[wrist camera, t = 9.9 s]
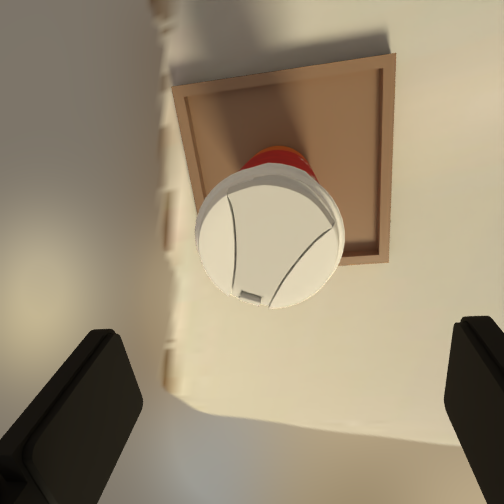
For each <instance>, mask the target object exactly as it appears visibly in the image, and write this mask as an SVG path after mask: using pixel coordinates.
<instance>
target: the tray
mask: <svg viewBox="0 0 504 504" xmlns="http://www.w3.org/2000/svg"><path fill="white" fill-rule="evenodd" d="M395 71H396V53H392V54H386V55H379V56H372V57H366V58H359V59H352V60H346V61H339V62H333V63H326V64H319V65H313V66H306V67H299V68H293V69H286V70H279V71H273V72H266V73H259V74H253V75H246V76H239V77H233V78H226V79H220V80H213V81H206V82H200V83H193V84H186V85H180V86H173V87H171V88H172V92H173V97H174V102H175V107H176V112H177V117H178V121H179V126H180V131H181V136H182V141H183V146H184V151H185V155H186V160H187V165H188V170H189V175H190V180H191V184H192V189H193V194H194V199H195V204H196V209H197V213H199V209H200V207H201V205H202V203H203V202H204V200H205V198H206V197H207V195H208V194H209V193H210V192H211V190H212V189H213V188H214V187H215V186H216V185H217V184H218V183H220V182H221V181H222V180H224V179H225V178H227V177H228V176H230V175H232V174H234V173H236V172H238V171H239V170H240V169H241V168H242V167H243V166H244V165H245V164H246V163H247V162H248V161H249V160H250V159H251V158H252V157H253V156H254V155H256V154H257V153H258V152H260V151H261V150H263V149H265V148H268V147H271V146H286V147H290V148H292V149H294V150H296V151H298V152H299V153H300V154H302V155H303V156H304V158H305V159H306V160H307V161H308V163H309V165H310V166H311V168H312V170H313V172H314V174H315V176H316V178H317V180H318V182H319V184H320V185H321V186H322V187H323V188H324V189H325V190H326V191H327V192H328V193H329V194H330V196H331V197H332V198H333V200H334V201H335V203H336V205H337V207H338V208H339V211H340V214H341V216H342V219H343V224H344V230H345V243H344V249H343V254H342V257H341V259H340V262H339V264H338V266H342V265H358V264H374V263H389V239H390V211H391V183H392V155H393V127H394V99H395Z"/></svg>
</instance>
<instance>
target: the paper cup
mask: <svg viewBox="0 0 504 504" xmlns="http://www.w3.org/2000/svg"><path fill="white" fill-rule="evenodd" d="M195 242H196V247H197V251H198V254H199V257H200V260H201V263H202V265H203V268H204V270H205V272H206V273H207V275H208V277H209V278H210V280H211V281H212V282H213V283H214V285H215V286H216V287H217V288H218V289H220V290H221V291H222V292H223V293H224V294H226V295H227V296H228V297H229V296H230V294H231V295H232V296H234V297H237V298H239V301H242V302H246V303H249V304H252V305H256V306H259V305H264V306H268V305H269V309H279V308H285V307H289V306H293V305H296V304H298V303H300V302H302V301H305V300H307V299H308V298H310V297H311V296H313V295H314V294H315V293H316V292H318V291H319V290H320V289H321V288H322V287H323V286H324V284H325V283H326V282H327V281H328V279H329V278H330V277H331V275H332V274H333V273H334V271H335V270H336V268H337V266H338V264H339V262H340V259H341V257H342V254H343V249H344V243H345V230H344V224H343V219H342V216H341V214H340V211H339V208H338V207H337V205H336V203H335V201H334V200H333V198H332V197H331V196H330V194H329V193H328V192H327V191H326V190H325V189H324V188H323V187H322V186H321V185H320V184H319V182H318V180H317V178H316V176H315V174H314V172H313V170H312V168H311V166H310V165H309V163H308V161H307V160H306V159H305V158H304V156H303V155H302V154H300V153H299V152H298V151H296V150H294V149H292V148H290V147H286V146H271V147H268V148H265V149H263V150H261V151H260V152H258V153H257V154H256V155H254V156H253V157H252V158H251V159H250V160H249V161H248V162H247V163H246V164H245V165H244V166H243V167H242V168H241V169H240V170H239V171H238V172H236V173H234V174H232V175H230V176H228V177H227V178H225V179H224V180H222V181H221V182H220V183H218V184H217V185H216V186H215V187H214V188H213V189H212V190H211V192H210V193H209V194H208V195H207V197H206V198H205V200H204V202H203V203H202V205H201V207H200V209H199V213H198V216H197V219H196V226H195Z"/></svg>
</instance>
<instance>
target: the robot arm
mask: <svg viewBox="0 0 504 504" xmlns="http://www.w3.org/2000/svg"><path fill="white" fill-rule="evenodd" d="M444 404H445V409H446V412H447V414H448V417H449V419H450V421H451V423H452V426H453V428H454V430H455V432H456V435H457V437H458V439H459V441H460V444H461V446H462V448H463V450H464V453H465V455H466V457H467V459H468V462H469V464H470V466H471V468H472V471H473V473H474V475H475V477H476V479H477V482H478V484H479V486H480V489H481V491H482V493H483V495H484V498H485V500H486V502H487V504H504V333H503V332H502V330H501V329H500V328H499V327H498V325H497V324H496V323H495V322H494V320H493V319H492V318H491V317H489V316H468V317H463V318H462V319H461V322H460V323H455V324H454V327H453V334H452V342H451V349H450V357H449V364H448V372H447V379H446V386H445V394H444ZM142 406H143V398H142V395H141V392H140V389H139V387H138V384H137V381H136V378H135V375H134V373H133V370H132V367H131V364H130V362H129V359H128V356H127V354H126V351H125V348H124V345H123V342H122V340H121V337H120V335H118V334H116V333H115V331H114V330H112V329H96V330H91V331H90V332H89V333H88V334H87V336H86V337H85V338H84V339H83V340H82V342H81V343H80V344H79V345H78V346H77V348H76V349H75V350H74V351H73V352H72V354H71V355H70V356H69V357H68V359H67V360H66V361H65V362H64V363H63V365H62V366H61V367H60V368H59V369H58V371H57V372H56V373H55V374H54V376H53V377H52V378H51V379H50V381H49V382H48V383H47V384H46V385H45V386H44V387H43V389H42V390H41V391H40V392H39V394H38V395H37V396H36V397H35V399H34V400H33V401H32V402H31V403H30V404H29V406H28V407H27V408H26V409H25V410H24V412H23V413H22V414H21V415H20V417H19V418H18V419H17V420H16V421H15V423H14V424H13V425H12V426H11V427H10V429H9V430H8V431H7V432H6V433H5V435H4V436H3V437H2V438H1V440H0V504H97V503H98V501H99V499H100V497H101V495H102V492H103V490H104V488H105V486H106V484H107V482H108V480H109V478H110V475H111V473H112V471H113V469H114V467H115V465H116V463H117V461H118V459H119V457H120V455H121V452H122V450H123V448H124V446H125V444H126V442H127V440H128V438H129V436H130V433H131V431H132V429H133V427H134V425H135V423H136V421H137V418H138V417H139V414H140V412H141V410H142Z"/></svg>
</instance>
